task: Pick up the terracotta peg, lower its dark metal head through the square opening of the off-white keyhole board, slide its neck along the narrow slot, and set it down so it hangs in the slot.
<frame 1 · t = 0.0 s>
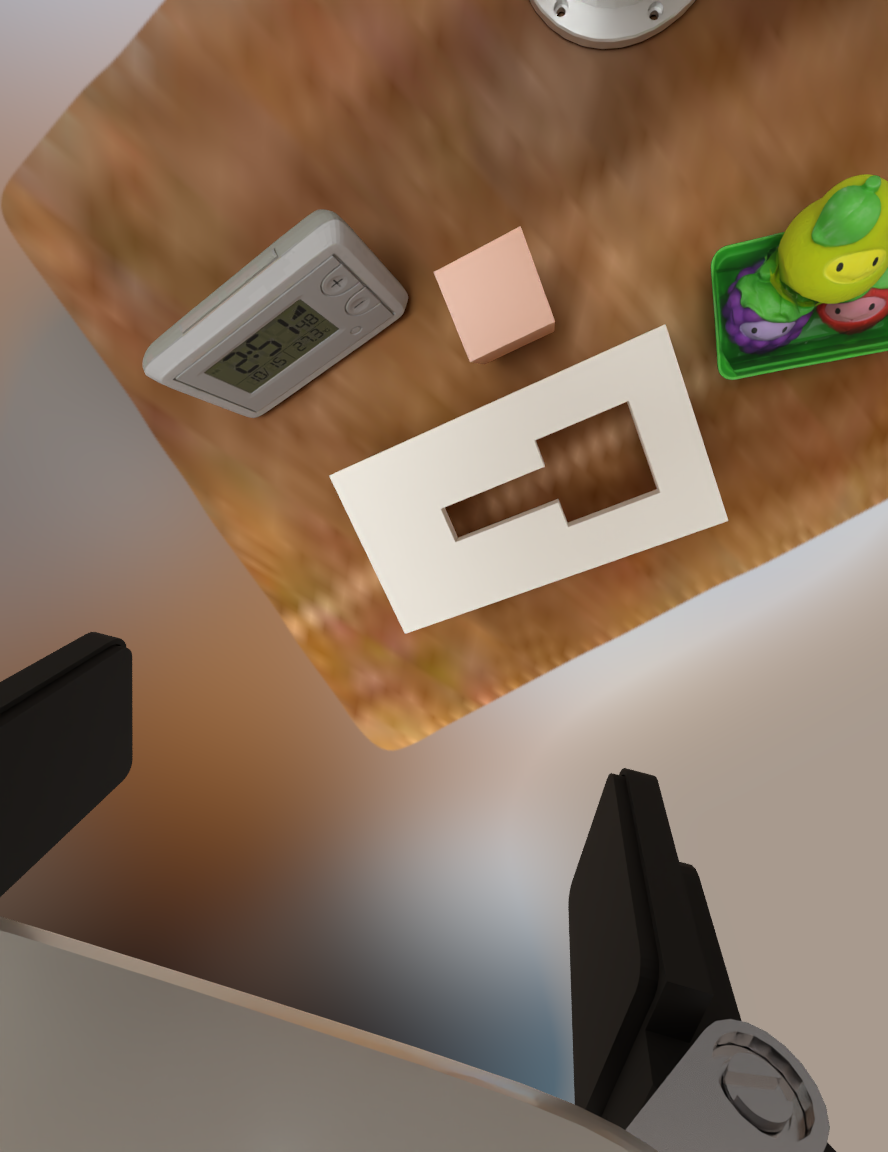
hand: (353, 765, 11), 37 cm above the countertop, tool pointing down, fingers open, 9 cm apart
keyhole board: (525, 474, 46), on the countertop
fruit basket: (785, 295, 39), on the countertop
peg: (508, 315, 42), on the countertop
digital clock: (313, 335, 45), on the countertop
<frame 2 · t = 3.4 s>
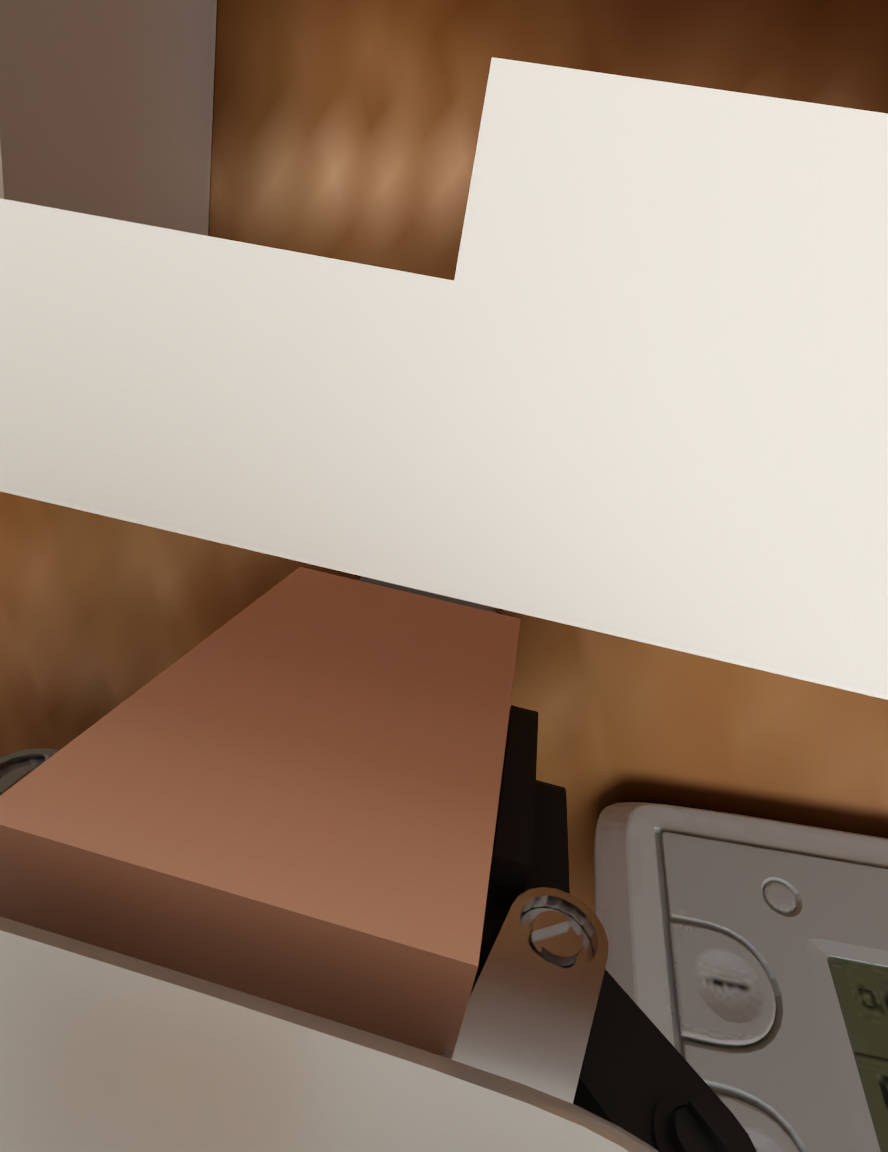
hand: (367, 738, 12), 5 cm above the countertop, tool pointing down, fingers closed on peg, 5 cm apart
keyhole board: (638, 211, 13), on the countertop
peg: (419, 634, 17), on the countertop, touching gripper
digital clock: (861, 889, 17), on the countertop
when the fingers open (11 cm above the countertop, at t = 11.1 s): peg stays where it is, resting on keyhole board.
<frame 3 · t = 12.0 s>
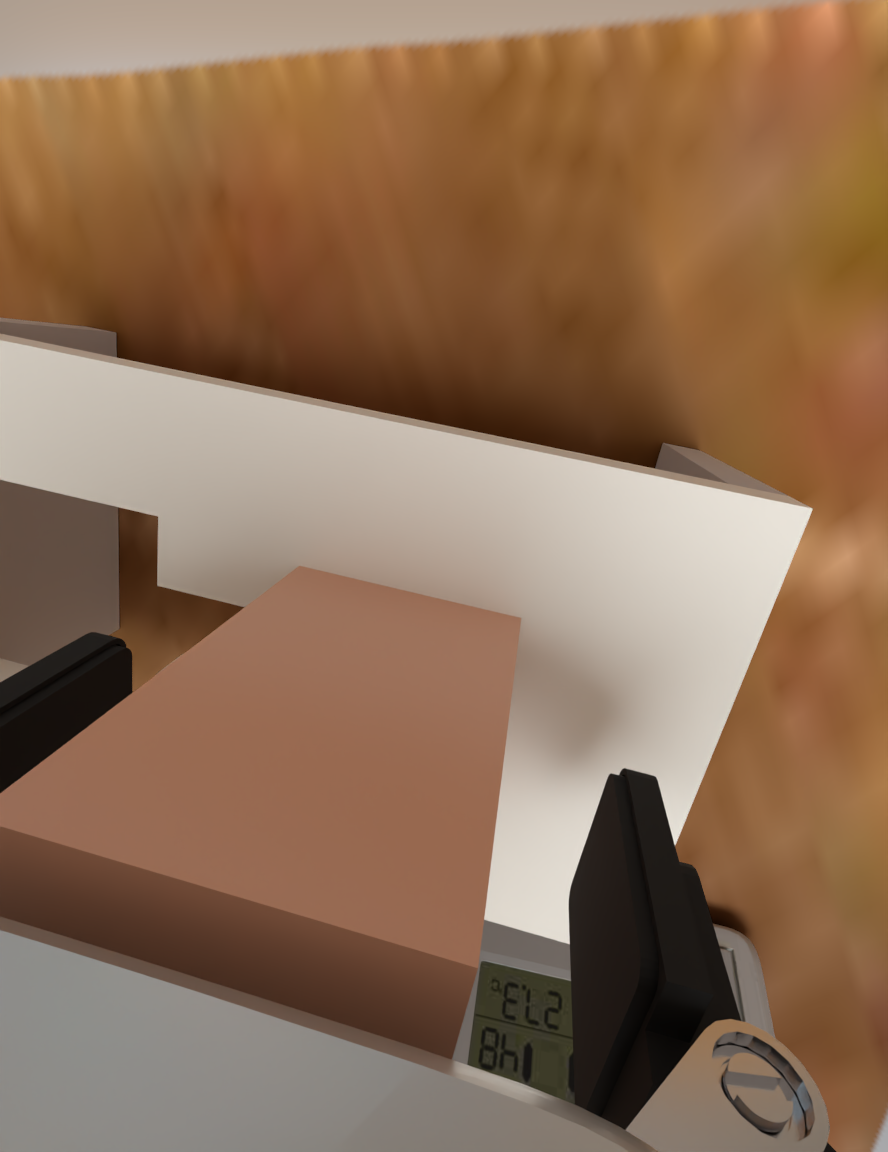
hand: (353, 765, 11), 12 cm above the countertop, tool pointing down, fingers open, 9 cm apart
keyhole board: (354, 548, 23), on the countertop
peg: (419, 633, 17), point 6 cm above the countertop, touching keyhole board
digital clock: (554, 918, 27), on the countertop
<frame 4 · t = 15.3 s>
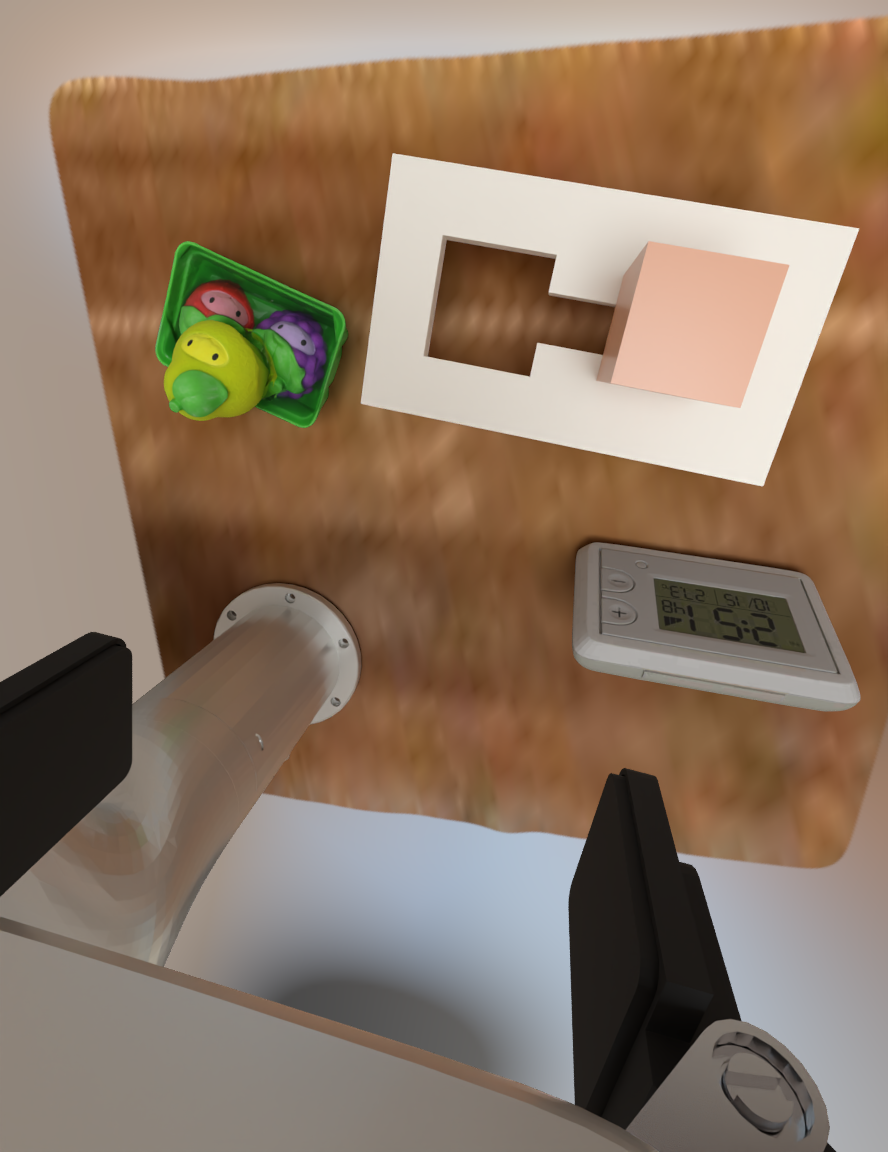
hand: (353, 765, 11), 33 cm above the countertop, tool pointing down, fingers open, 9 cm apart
keyhole board: (576, 335, 39), on the countertop
fruit basket: (280, 350, 42), on the countertop
peg: (649, 341, 33), point 6 cm above the countertop, touching keyhole board
digital clock: (682, 588, 43), on the countertop
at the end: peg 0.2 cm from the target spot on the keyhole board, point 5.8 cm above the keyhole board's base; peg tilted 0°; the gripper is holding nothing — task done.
